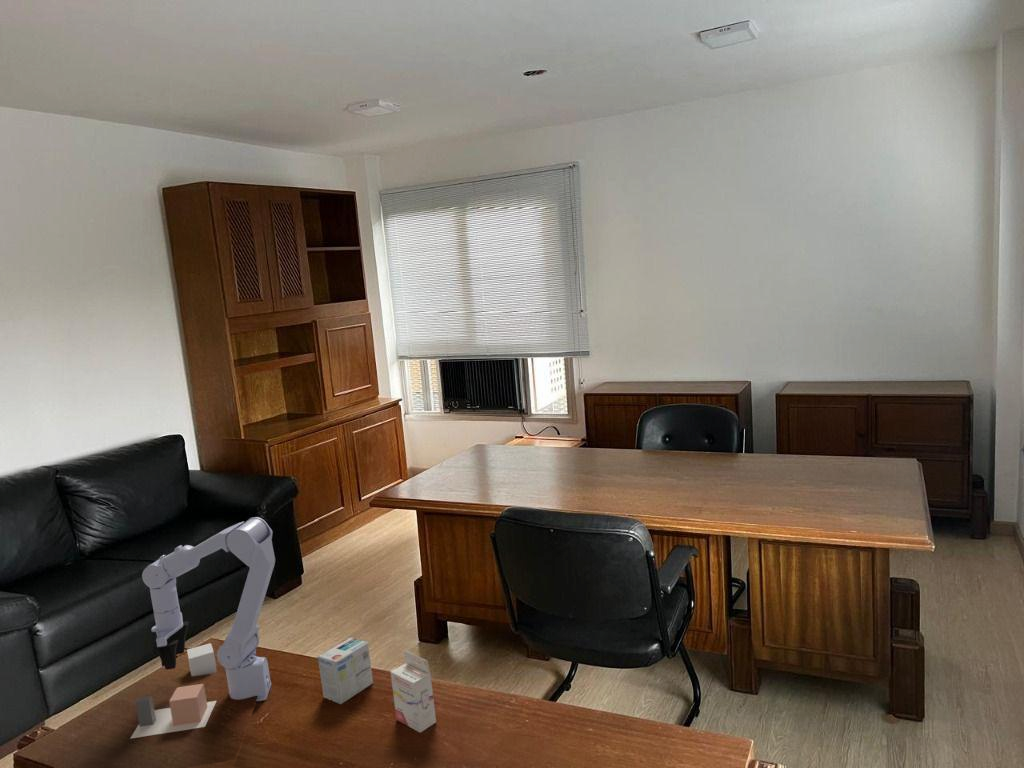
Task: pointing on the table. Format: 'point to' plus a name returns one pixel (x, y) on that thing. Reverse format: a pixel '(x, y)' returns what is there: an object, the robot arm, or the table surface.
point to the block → (188, 704)
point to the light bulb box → (345, 670)
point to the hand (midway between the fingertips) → (175, 660)
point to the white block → (202, 660)
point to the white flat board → (162, 719)
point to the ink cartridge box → (413, 693)
